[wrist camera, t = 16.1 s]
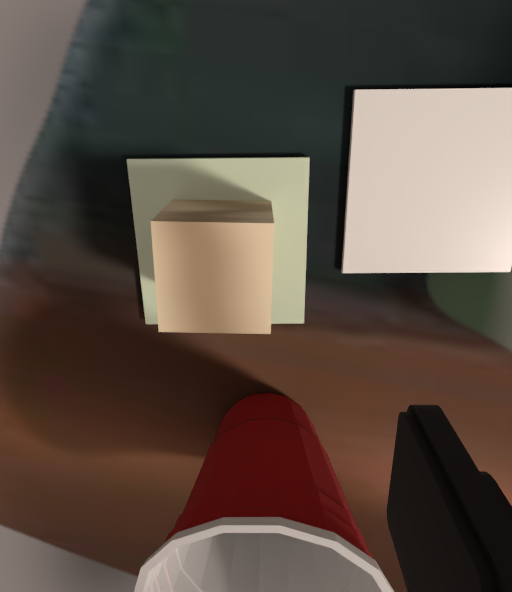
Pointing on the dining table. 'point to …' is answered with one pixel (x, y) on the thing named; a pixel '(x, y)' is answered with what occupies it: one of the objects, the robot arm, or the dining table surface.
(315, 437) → the plastic cup
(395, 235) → the blush pad
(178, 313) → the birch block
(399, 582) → the dining table surface
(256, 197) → the sage pad
